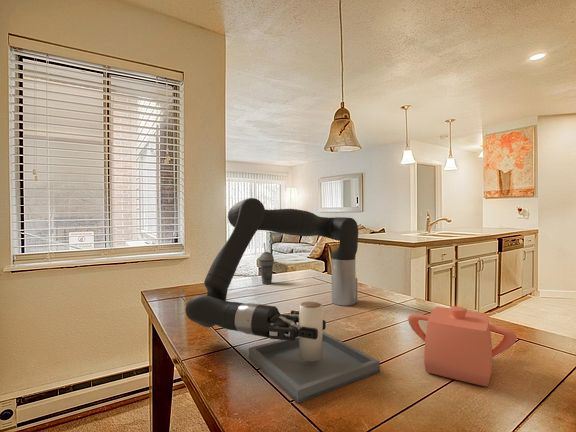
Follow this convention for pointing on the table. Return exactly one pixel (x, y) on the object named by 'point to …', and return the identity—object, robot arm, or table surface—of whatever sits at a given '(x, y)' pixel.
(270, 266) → the beverage cup
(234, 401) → the table surface
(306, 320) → the cream cup
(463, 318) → the teapot
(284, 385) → the charcoal tray
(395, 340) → the table surface
